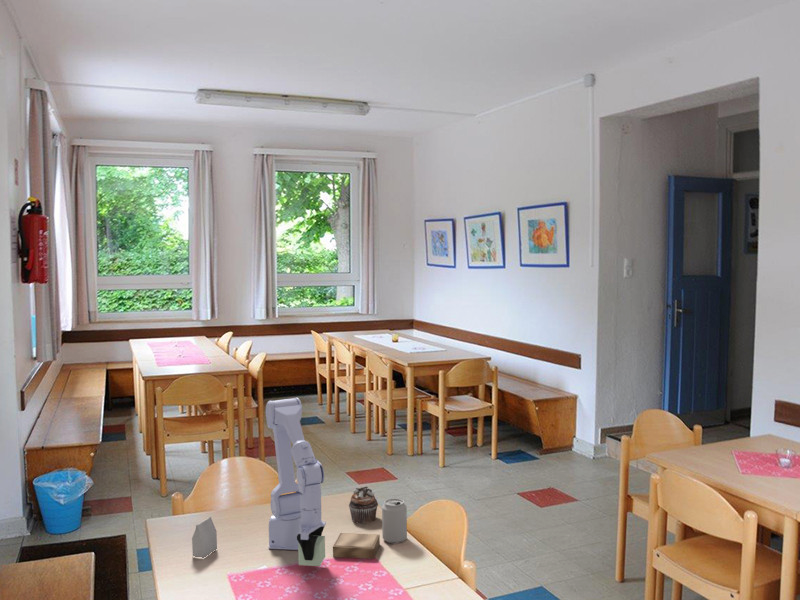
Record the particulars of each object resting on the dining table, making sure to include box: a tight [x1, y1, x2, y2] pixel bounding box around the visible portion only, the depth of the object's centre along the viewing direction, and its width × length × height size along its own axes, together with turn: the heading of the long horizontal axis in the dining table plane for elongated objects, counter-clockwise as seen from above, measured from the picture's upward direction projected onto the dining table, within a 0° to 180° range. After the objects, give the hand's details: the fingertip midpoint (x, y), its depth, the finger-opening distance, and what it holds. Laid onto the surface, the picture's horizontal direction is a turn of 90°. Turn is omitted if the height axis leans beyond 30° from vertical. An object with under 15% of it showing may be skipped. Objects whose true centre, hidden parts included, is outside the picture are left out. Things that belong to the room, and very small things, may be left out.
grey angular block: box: [191, 516, 218, 558], centre depth 207 cm, size 4×7×10 cm, turn 160°
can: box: [381, 498, 408, 544], centre depth 215 cm, size 8×8×12 cm
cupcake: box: [348, 486, 379, 524], centre depth 233 cm, size 10×10×10 cm
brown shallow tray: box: [332, 532, 381, 560], centre depth 208 cm, size 12×10×3 cm
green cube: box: [297, 535, 326, 567], centre depth 196 cm, size 6×6×6 cm
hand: (311, 554), depth 197 cm, fingers closed on green cube, 6 cm apart
